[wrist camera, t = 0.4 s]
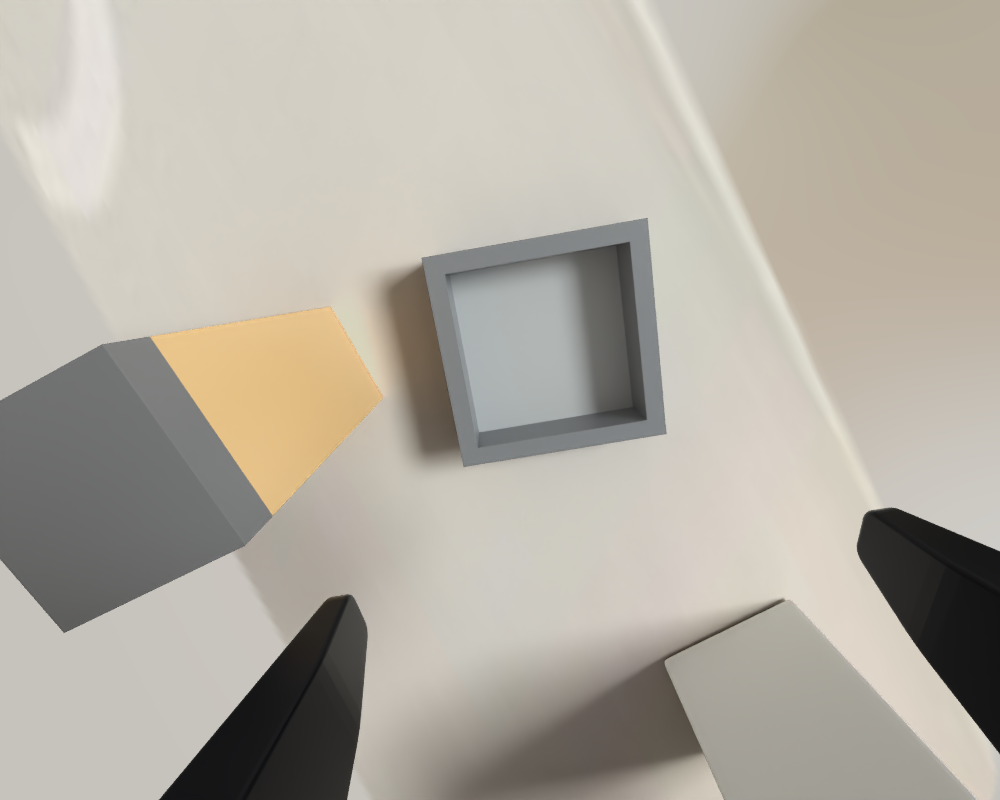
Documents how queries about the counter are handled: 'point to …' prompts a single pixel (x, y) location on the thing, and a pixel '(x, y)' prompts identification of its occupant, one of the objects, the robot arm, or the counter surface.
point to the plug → (168, 453)
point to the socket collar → (549, 342)
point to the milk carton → (799, 718)
